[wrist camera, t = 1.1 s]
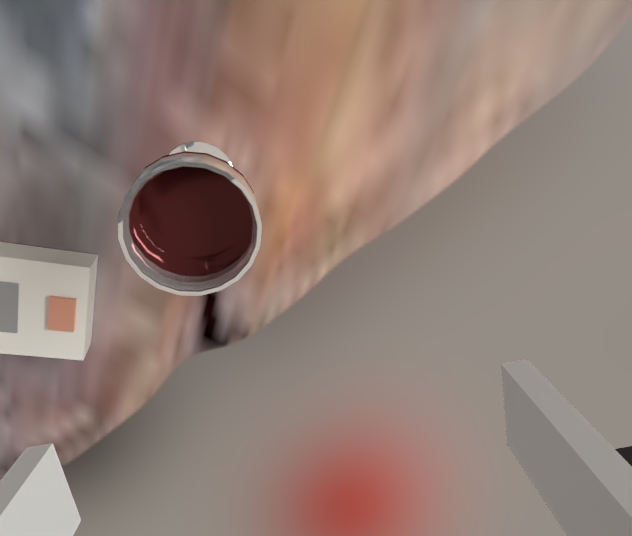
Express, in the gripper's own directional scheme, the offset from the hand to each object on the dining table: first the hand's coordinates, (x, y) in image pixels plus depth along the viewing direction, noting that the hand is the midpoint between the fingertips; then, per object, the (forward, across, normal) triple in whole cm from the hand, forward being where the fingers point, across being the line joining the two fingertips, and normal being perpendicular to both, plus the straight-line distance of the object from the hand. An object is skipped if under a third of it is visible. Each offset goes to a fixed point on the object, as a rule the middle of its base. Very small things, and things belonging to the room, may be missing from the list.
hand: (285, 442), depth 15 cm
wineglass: (+23, -5, +6) cm, 25 cm away
